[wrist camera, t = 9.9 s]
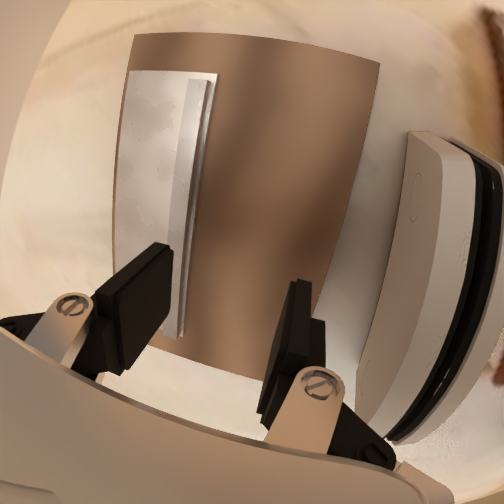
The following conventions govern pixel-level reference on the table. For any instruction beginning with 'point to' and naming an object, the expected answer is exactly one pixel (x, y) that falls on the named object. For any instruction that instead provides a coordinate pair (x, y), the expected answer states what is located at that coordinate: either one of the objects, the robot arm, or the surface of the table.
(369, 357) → the white arched block
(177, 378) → the table surface
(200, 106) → the plate
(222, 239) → the mounting board
